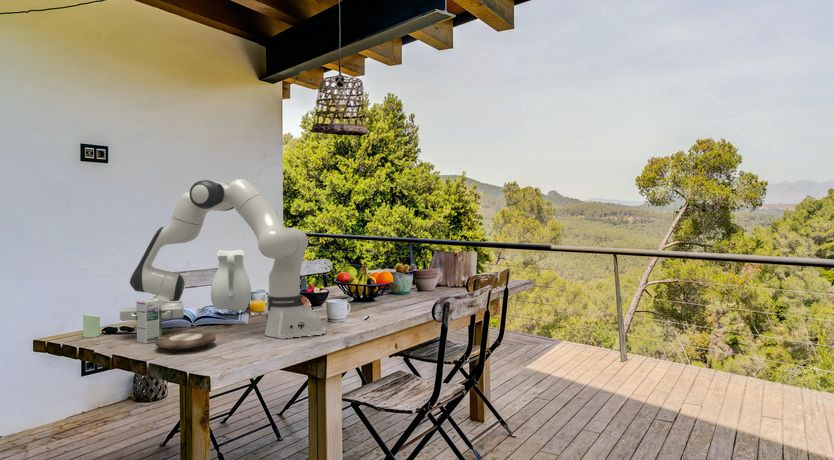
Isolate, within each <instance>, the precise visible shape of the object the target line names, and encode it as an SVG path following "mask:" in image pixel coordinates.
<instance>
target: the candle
mask: <svg viewBox="0 0 834 460" xmlns="http://www.w3.org/2000/svg"><path fill="white" fill-rule="evenodd" d="M82 314H83V313H82ZM82 317H83V318H82V327H83V328H82V330H83V332H82V334H83V338H85V339H86V338H88V339H89V338H97V337H100V336H101V329H100V328H101V319H100V318H101V317H100V316H99V315H93V314H87V313H84V314H83V315H82Z"/></svg>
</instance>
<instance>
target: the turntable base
mask: <svg viewBox="0 0 834 460" xmlns="http://www.w3.org/2000/svg"><path fill="white" fill-rule="evenodd" d="M203 346H204V345H201V346H196V347H188V348H168V350H170V351H173V352H188V351H189V352H190V351H194V350H199V349H201V348H202V347H203Z"/></svg>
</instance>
